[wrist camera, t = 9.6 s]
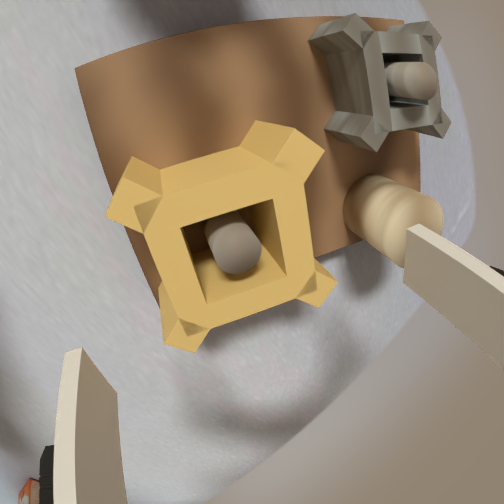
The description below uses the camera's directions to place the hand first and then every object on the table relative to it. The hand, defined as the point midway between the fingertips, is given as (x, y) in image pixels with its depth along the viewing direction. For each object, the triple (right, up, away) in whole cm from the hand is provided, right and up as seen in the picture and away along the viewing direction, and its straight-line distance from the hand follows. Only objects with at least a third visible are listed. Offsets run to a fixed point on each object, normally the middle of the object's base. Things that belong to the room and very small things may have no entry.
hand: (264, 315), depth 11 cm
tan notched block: (-3, +5, +10) cm, 11 cm away
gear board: (+2, +10, +11) cm, 15 cm away
